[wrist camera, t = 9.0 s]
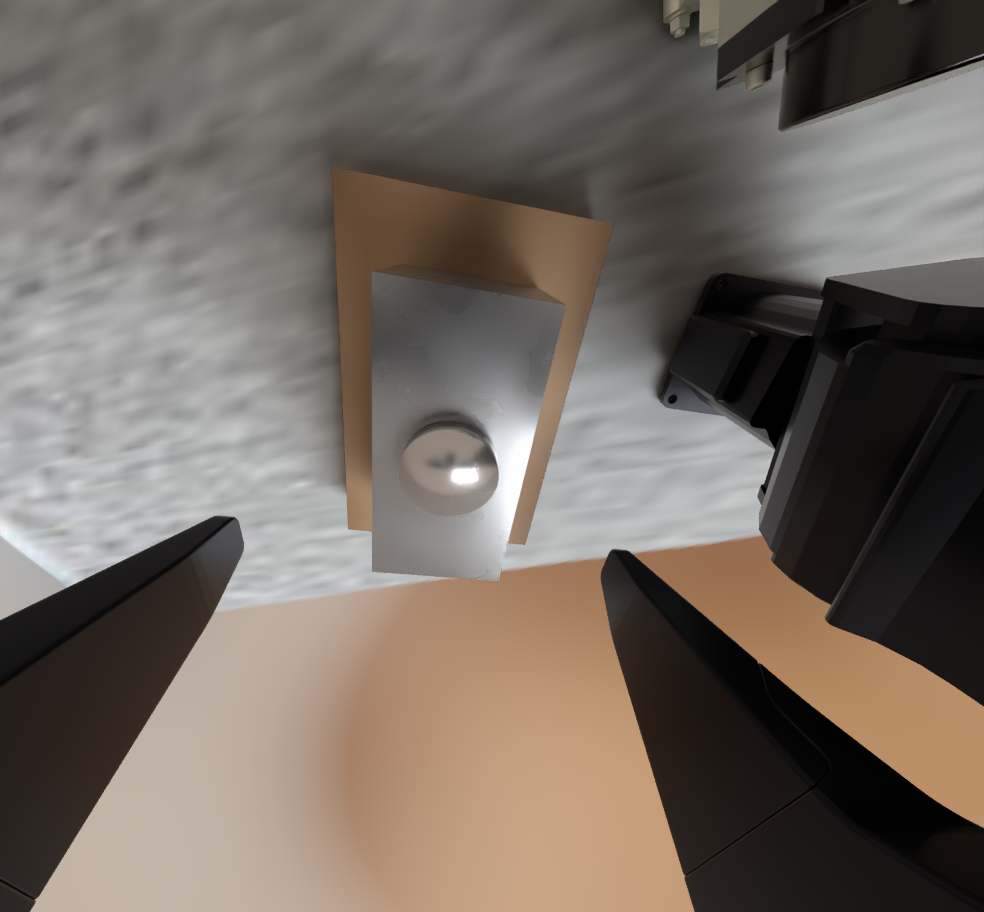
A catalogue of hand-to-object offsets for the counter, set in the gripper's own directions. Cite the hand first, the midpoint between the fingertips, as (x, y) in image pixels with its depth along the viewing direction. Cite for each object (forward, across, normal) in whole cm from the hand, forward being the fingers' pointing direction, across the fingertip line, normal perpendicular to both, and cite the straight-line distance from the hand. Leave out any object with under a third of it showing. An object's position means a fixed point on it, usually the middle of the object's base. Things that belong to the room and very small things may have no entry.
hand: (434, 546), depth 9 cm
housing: (+9, 0, 0) cm, 9 cm away
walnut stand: (+11, 0, 0) cm, 11 cm away
